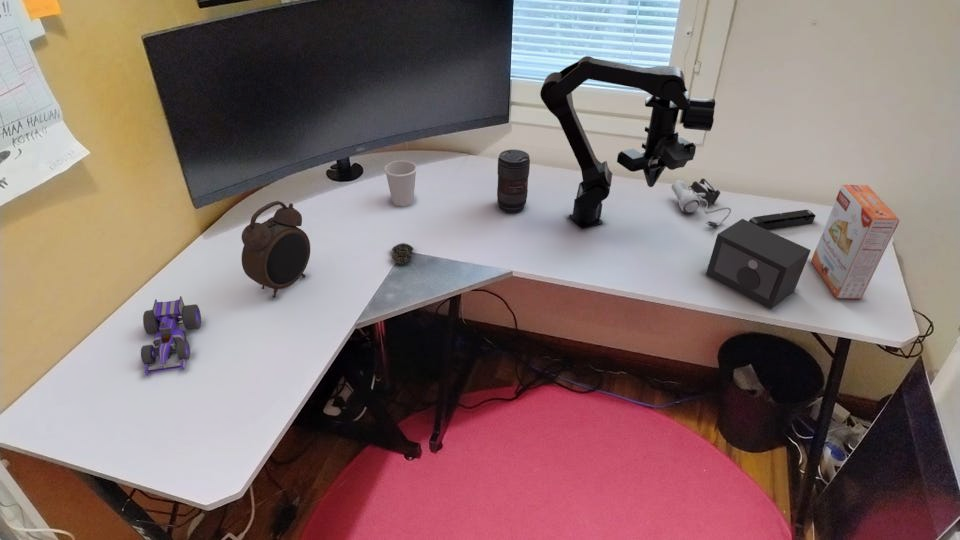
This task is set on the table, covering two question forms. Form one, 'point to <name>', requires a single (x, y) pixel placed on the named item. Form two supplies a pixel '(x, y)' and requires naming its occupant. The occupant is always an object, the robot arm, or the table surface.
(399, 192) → the dixie cup
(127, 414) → the table surface
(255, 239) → the alarm clock
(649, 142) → the robot arm
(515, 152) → the camera lens
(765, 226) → the tablet stand
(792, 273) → the speaker
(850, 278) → the cracker box
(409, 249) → the corroded twin loop
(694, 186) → the clip-on lamp
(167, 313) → the toy race car
